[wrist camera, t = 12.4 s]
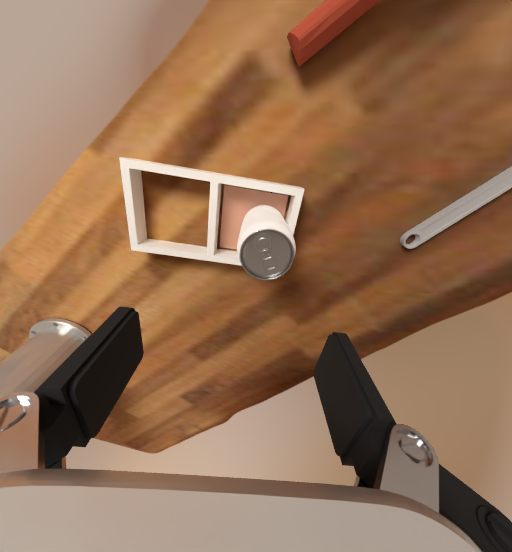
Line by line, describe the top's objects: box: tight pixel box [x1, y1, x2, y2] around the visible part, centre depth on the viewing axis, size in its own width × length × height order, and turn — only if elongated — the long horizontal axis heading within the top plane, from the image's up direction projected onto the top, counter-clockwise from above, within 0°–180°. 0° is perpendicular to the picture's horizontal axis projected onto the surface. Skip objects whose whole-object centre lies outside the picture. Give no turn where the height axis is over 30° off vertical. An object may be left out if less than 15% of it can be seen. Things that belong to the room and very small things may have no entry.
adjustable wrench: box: [400, 167, 512, 249], centre depth 29 cm, size 25×6×2 cm, turn 125°
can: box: [237, 205, 296, 280], centre depth 27 cm, size 6×6×12 cm
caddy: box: [119, 157, 304, 266], centre depth 30 cm, size 12×23×3 cm, turn 81°
